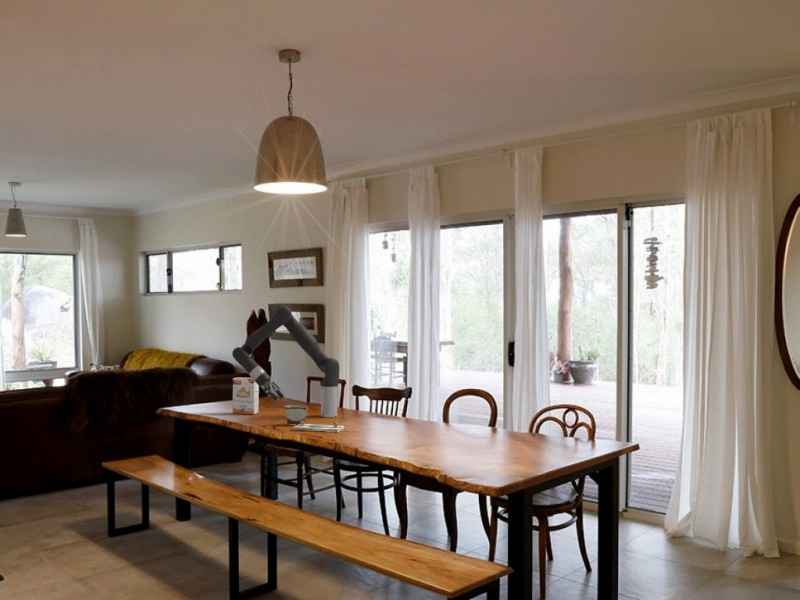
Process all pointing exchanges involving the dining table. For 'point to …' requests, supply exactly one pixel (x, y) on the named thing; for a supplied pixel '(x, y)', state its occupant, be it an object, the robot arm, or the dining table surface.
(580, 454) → the dining table surface
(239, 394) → the cracker box
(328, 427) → the board
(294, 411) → the food container
